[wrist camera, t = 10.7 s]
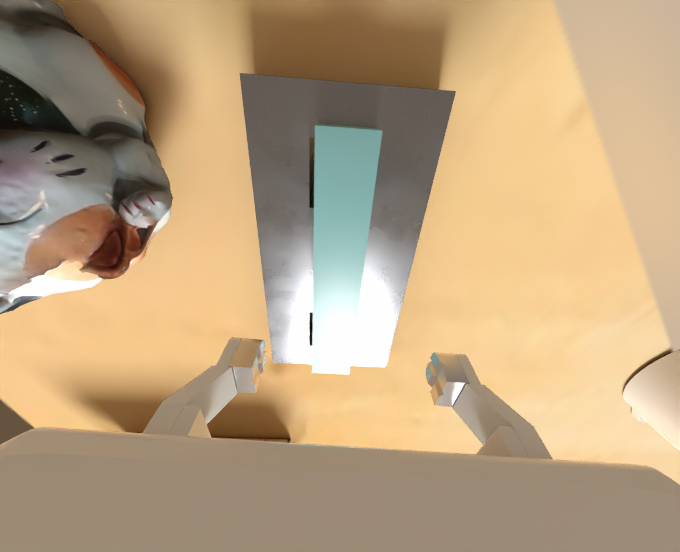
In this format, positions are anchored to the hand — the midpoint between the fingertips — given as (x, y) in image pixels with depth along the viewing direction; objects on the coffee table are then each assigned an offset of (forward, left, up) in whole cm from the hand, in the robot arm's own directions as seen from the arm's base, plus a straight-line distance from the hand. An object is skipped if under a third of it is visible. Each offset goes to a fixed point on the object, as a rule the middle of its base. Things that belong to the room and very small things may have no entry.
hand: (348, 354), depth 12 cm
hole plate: (+1, +1, -12) cm, 12 cm away
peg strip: (+1, +1, -12) cm, 12 cm away
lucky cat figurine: (+19, -7, -13) cm, 23 cm away
